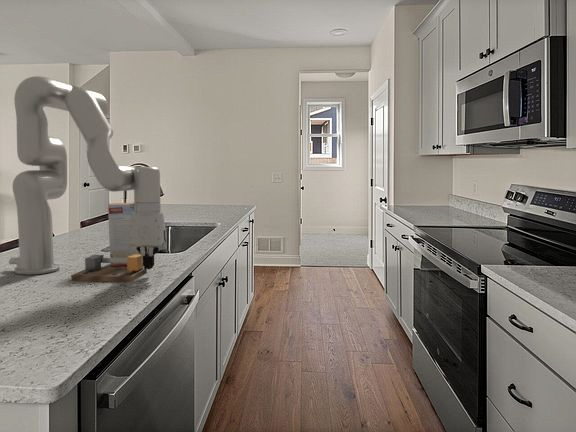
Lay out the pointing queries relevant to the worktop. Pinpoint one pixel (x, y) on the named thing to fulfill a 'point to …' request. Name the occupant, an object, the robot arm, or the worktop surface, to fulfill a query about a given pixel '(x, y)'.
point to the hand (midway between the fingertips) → (148, 268)
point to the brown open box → (109, 275)
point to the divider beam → (95, 262)
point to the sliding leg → (134, 263)
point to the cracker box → (120, 231)
